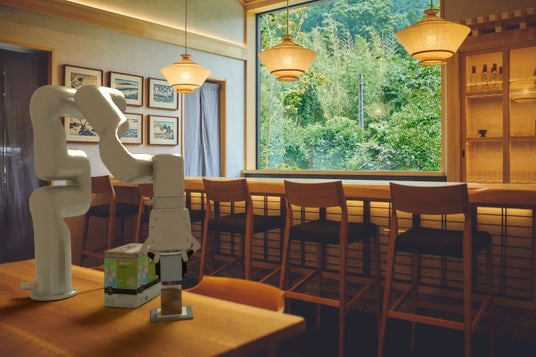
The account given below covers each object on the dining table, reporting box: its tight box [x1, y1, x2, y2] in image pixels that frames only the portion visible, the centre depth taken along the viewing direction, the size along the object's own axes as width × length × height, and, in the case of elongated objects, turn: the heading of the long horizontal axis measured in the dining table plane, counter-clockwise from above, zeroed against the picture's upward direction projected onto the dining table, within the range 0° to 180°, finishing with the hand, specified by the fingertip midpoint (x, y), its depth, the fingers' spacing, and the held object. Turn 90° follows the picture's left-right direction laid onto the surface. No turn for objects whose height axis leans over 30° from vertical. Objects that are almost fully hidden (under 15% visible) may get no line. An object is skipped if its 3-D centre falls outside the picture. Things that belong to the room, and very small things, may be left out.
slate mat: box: [149, 304, 194, 323], centre depth 119 cm, size 10×10×1 cm
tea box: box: [103, 242, 162, 309], centre depth 132 cm, size 15×10×15 cm, turn 168°
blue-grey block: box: [160, 251, 183, 283], centre depth 118 cm, size 5×5×6 cm
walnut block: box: [160, 284, 183, 316], centre depth 119 cm, size 5×5×6 cm
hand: (171, 276), depth 118 cm, fingers closed on blue-grey block, 5 cm apart
